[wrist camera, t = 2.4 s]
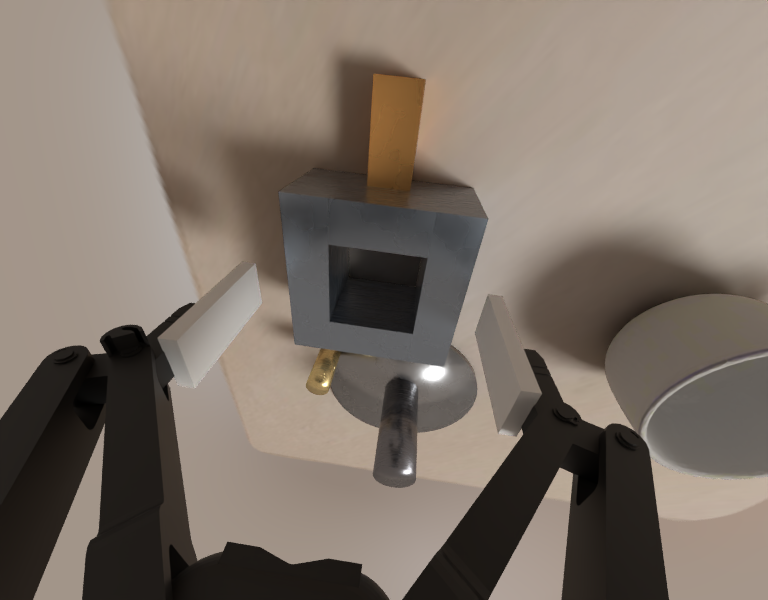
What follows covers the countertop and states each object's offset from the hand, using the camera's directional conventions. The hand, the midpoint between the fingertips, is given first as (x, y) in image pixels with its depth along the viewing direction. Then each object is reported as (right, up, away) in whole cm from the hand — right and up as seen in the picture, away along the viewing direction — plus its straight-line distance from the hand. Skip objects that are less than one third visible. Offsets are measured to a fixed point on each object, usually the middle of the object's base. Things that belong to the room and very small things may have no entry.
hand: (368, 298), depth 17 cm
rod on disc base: (+3, -8, +12) cm, 15 cm away
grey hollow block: (+1, +5, +3) cm, 6 cm away
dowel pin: (-4, -4, +10) cm, 11 cm away
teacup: (+24, -2, +5) cm, 24 cm away
